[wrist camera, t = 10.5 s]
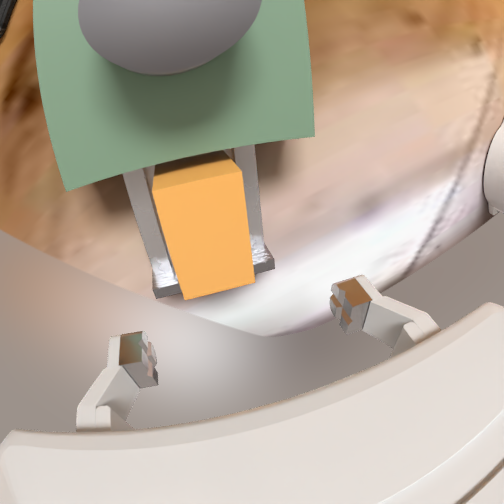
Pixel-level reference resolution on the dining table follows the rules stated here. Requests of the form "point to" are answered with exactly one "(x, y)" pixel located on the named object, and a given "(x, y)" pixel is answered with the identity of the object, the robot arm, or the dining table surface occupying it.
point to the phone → (5, 14)
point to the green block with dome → (168, 79)
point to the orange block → (204, 222)
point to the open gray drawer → (152, 232)
